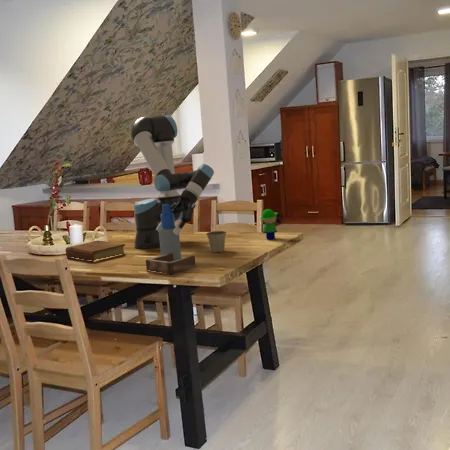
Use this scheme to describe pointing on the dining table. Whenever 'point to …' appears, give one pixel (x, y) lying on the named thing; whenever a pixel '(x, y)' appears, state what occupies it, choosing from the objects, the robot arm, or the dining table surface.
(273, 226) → the toy
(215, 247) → the flower pot
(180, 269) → the rest
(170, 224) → the blue and grey bottle
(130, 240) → the dining table surface
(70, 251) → the diary
